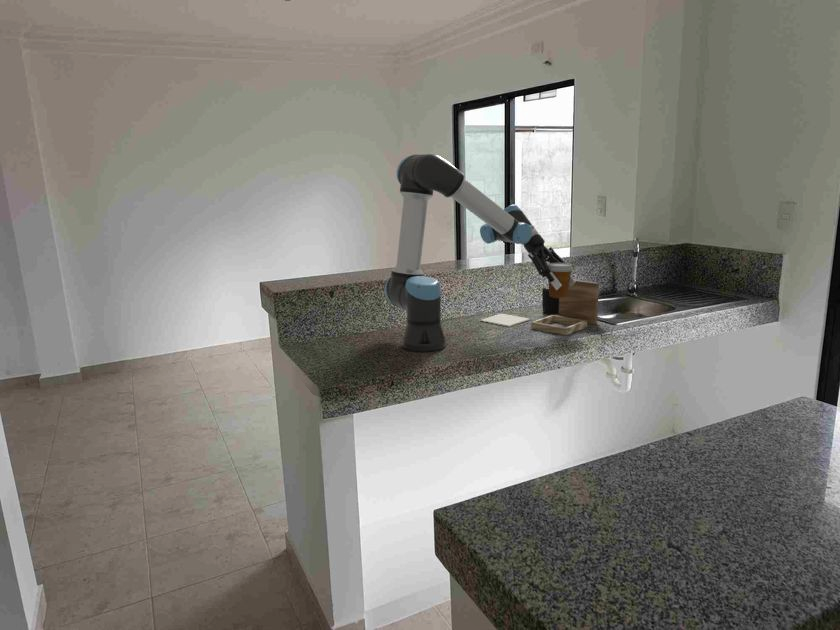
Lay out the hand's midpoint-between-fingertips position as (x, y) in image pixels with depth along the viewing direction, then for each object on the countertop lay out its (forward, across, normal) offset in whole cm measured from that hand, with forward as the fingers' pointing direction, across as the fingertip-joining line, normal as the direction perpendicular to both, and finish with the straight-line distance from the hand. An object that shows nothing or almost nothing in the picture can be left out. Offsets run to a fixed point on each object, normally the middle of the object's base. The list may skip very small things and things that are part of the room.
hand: (566, 285), depth 224 cm
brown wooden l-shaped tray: (+10, +4, +14) cm, 17 cm away
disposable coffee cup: (+1, 0, +5) cm, 5 cm away
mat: (-6, -4, +29) cm, 30 cm away
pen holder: (-1, +21, +24) cm, 32 cm away
